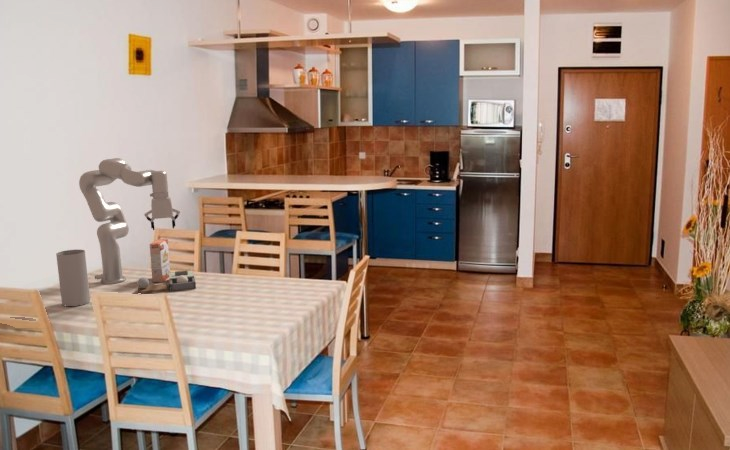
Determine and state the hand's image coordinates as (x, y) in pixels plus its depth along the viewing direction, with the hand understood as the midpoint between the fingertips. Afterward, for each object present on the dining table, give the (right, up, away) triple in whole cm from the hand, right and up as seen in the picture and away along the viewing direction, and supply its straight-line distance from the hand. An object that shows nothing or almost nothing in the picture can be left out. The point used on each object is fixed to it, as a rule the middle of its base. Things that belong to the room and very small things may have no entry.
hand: (163, 228), depth 348 cm
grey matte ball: (-9, -27, -4) cm, 29 cm away
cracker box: (-7, -28, +21) cm, 35 cm away
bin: (+7, -29, +9) cm, 31 cm away
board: (-5, -31, -2) cm, 32 cm away
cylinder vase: (-36, -36, -20) cm, 55 cm away
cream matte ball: (+9, -27, +2) cm, 28 cm away
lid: (+6, -25, +12) cm, 28 cm away
